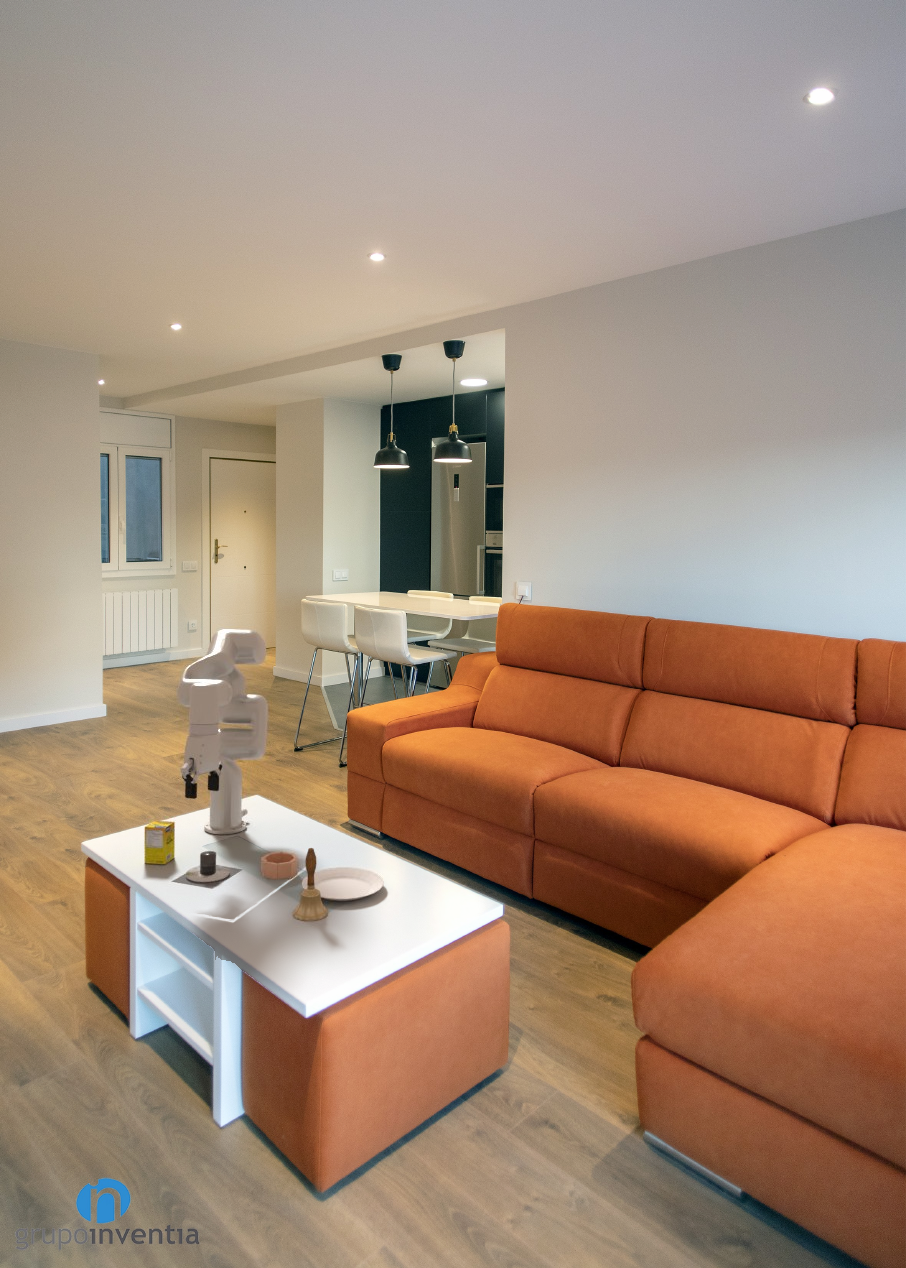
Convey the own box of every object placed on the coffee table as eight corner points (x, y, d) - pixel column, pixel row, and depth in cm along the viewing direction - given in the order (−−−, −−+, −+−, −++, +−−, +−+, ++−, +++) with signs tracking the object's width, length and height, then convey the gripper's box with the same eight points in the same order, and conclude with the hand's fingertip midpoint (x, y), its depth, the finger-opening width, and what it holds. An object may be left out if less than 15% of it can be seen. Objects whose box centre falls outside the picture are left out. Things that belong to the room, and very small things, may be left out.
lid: (202, 865, 218) (202, 844, 217) (237, 871, 214) (238, 849, 214) (177, 879, 207) (177, 857, 207) (214, 885, 204) (214, 863, 203)
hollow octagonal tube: (272, 866, 220) (273, 850, 220) (302, 870, 218) (302, 854, 217) (255, 877, 212) (255, 861, 211) (286, 882, 209) (286, 865, 209)
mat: (203, 865, 219) (203, 863, 219) (242, 871, 216) (242, 869, 216) (171, 883, 206) (171, 881, 206) (212, 890, 202) (212, 888, 202)
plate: (284, 895, 202) (284, 886, 201) (334, 869, 220) (334, 861, 220) (352, 914, 192) (352, 905, 192) (398, 885, 211) (398, 877, 210)
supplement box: (174, 859, 222) (175, 821, 222) (165, 867, 217) (165, 827, 216) (154, 858, 223) (154, 819, 222) (143, 865, 217) (144, 826, 216)
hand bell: (311, 924, 185) (313, 857, 184) (285, 915, 190) (286, 849, 189) (335, 912, 192) (337, 847, 191) (309, 903, 197) (310, 840, 196)
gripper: (211, 724, 220) (209, 786, 221) (170, 733, 204) (169, 799, 205) (234, 726, 218) (233, 789, 219) (195, 735, 202) (194, 802, 202)
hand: (202, 794), depth 212 cm, fingers open, 9 cm apart
